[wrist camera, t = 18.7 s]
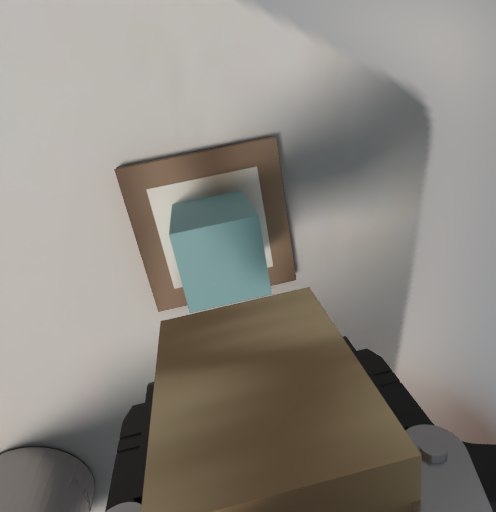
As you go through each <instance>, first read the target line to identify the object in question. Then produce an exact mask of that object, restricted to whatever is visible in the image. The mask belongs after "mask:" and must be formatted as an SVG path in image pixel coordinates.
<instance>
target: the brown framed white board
mask: <svg viewBox="0 0 496 512" xmlns="http://www.w3.org/2000/svg"><path fill="white" fill-rule="evenodd" d="M115 173H116V176H117V179H118V183H119V186H120V189H121V192H122V196H123V199H124V202H125V205H126V209H127V212H128V215H129V218H130V221H131V225H132V228H133V231H134V234H135V238H136V241H137V244H138V247H139V251H140V254H141V257H142V260H143V263H144V267H145V270H146V273H147V276H148V280H149V283H150V286H151V289H152V293H153V296H154V299H155V302H156V306H157V309H158V312H160V311H164V310H169V309H173V308H177V307H182V306H186V305H188V304H187V301H186V297H185V293H184V289H183V286H182V282H181V278H180V274H179V271H178V267H177V263H176V259H175V256H174V252H173V248H172V244H171V241H170V237H169V229H170V219H171V210H172V205H173V204H178V203H183V202H188V201H193V200H197V199H202V198H207V197H212V196H217V195H222V194H227V193H231V192H236V191H241V190H242V192H243V193H244V194H245V196H246V197H247V199H248V200H249V202H250V203H251V205H252V206H253V208H254V209H255V211H256V212H257V214H258V215H259V220H260V226H261V232H262V238H263V244H264V250H265V256H266V262H267V268H268V274H269V280H270V286H272V285H276V284H281V283H285V282H289V281H294V280H296V274H295V267H294V260H293V253H292V246H291V239H290V232H289V225H288V217H287V210H286V203H285V196H284V189H283V182H282V175H281V168H280V161H279V153H278V146H277V139H276V137H274V136H271V137H266V138H261V139H256V140H251V141H246V142H241V143H236V144H231V145H226V146H221V147H216V148H211V149H206V150H201V151H196V152H191V153H186V154H181V155H176V156H171V157H166V158H161V159H156V160H151V161H146V162H141V163H136V164H131V165H126V166H121V167H117V168H116V169H115Z"/></svg>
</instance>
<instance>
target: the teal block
mask: <svg viewBox="0 0 496 512" xmlns="http://www.w3.org/2000/svg"><path fill="white" fill-rule="evenodd" d="M169 237H170V241H171V244H172V248H173V252H174V256H175V259H176V263H177V267H178V271H179V274H180V278H181V282H182V286H183V289H184V293H185V297H186V301H187V304H188V308H189V312H190V313H193V312H197V311H202V310H206V309H210V308H215V307H219V306H223V305H228V304H232V303H236V302H241V301H245V300H249V299H254V298H258V297H262V296H267V295H271V294H272V292H271V286H270V280H269V274H268V268H267V262H266V256H265V250H264V244H263V238H262V232H261V226H260V220H259V215H258V214H257V212H256V211H255V209H254V208H253V206H252V205H251V203H250V202H249V200H248V199H247V197H246V196H245V194H244V193H243V192H242V190H241V191H236V192H231V193H227V194H222V195H217V196H212V197H207V198H202V199H197V200H193V201H188V202H183V203H178V204H173V205H172V210H171V219H170V229H169Z"/></svg>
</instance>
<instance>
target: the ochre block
mask: <svg viewBox="0 0 496 512" xmlns="http://www.w3.org/2000/svg"><path fill="white" fill-rule="evenodd" d="M421 462H422V455H421V453H420V452H419V450H418V449H417V448H416V446H415V445H414V443H413V442H412V440H411V439H410V437H409V436H408V434H407V433H406V431H405V430H404V428H403V427H402V425H401V424H400V422H399V421H398V419H397V418H396V416H395V415H394V413H393V412H392V410H391V409H390V407H389V406H388V404H387V403H386V401H385V400H384V398H383V397H382V395H381V394H380V392H379V391H378V389H377V388H376V386H375V385H374V383H373V382H372V380H371V379H370V377H369V376H368V374H367V373H366V371H365V370H364V368H363V367H362V365H361V364H360V362H359V361H358V359H357V358H356V356H355V355H354V354H353V352H352V351H351V349H350V348H349V346H348V345H347V343H346V342H345V340H344V339H343V337H342V336H341V334H340V333H339V331H338V330H337V328H336V327H335V325H334V324H333V322H332V321H331V319H330V318H329V316H328V315H327V313H326V312H325V310H324V309H323V307H322V306H321V304H320V303H319V301H318V300H317V298H316V297H315V295H314V294H313V292H312V291H311V289H310V288H309V287H308V288H303V289H299V290H295V291H290V292H286V293H282V294H277V295H273V296H269V297H264V298H260V299H256V300H251V301H247V302H243V303H238V304H234V305H230V306H225V307H221V308H217V309H212V310H208V311H204V312H199V313H195V314H191V315H186V316H182V317H177V318H173V319H169V320H164V321H161V325H160V335H159V344H158V354H157V363H156V373H155V382H154V392H153V401H152V411H151V420H150V430H149V439H148V449H147V458H146V468H145V477H144V487H143V496H142V506H141V512H412V502H414V501H418V500H421Z"/></svg>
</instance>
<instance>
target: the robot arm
mask: <svg viewBox="0 0 496 512" xmlns="http://www.w3.org/2000/svg"><path fill="white" fill-rule="evenodd" d="M343 339H344V340H345V342H346V343H347V345H348V346H349V348H350V349H351V351H352V352H353V354H354V355H355V356H356V358H357V359H358V361H359V362H360V364H361V365H362V367H363V368H364V370H365V371H366V373H367V374H368V376H369V377H370V379H371V380H372V382H373V383H374V385H375V386H376V388H377V389H378V391H379V392H380V394H381V395H382V397H383V398H384V400H385V401H386V403H387V404H388V406H389V407H390V409H391V410H392V412H393V413H394V415H395V416H396V418H397V419H398V421H399V422H400V424H401V425H402V427H403V428H404V430H405V431H406V433H407V434H408V436H409V437H410V439H411V440H412V442H413V443H414V445H415V446H416V448H417V449H418V450H419V452H420V453H421V455H422V462H421V500H418V501H414V502H412V512H496V445H489V444H487V445H486V444H471V443H466V442H463V441H461V440H460V439H459V438H458V437H457V436H455V435H454V434H453V433H451V432H449V431H448V430H446V429H443V428H441V427H438V426H435V425H434V424H433V423H432V422H431V421H430V419H429V418H428V417H427V415H426V414H425V413H424V412H423V410H422V409H421V408H420V406H419V405H418V404H417V402H416V401H415V400H414V399H413V397H412V396H411V395H410V393H409V392H408V391H407V389H406V388H405V387H404V386H403V384H402V383H400V381H399V379H398V378H397V376H396V375H395V374H394V373H392V370H391V369H390V367H389V366H388V365H387V364H386V362H385V361H384V360H383V358H382V357H380V356H378V355H377V354H375V353H374V352H372V351H370V350H369V349H364V350H359V351H356V350H355V349H354V347H353V346H352V344H351V343H350V341H349V340H348V338H347V337H345V336H343ZM153 392H154V382H152V383H149V384H148V386H147V393H146V401H145V403H142V404H138V405H134V406H132V408H131V409H130V411H129V412H128V414H127V416H126V417H125V419H124V420H123V423H122V428H121V433H120V441H119V444H118V449H117V455H116V459H115V465H114V470H113V475H112V480H111V485H110V491H109V496H108V501H107V506H106V510H105V512H141V506H142V496H143V487H144V477H145V468H146V458H147V449H148V439H149V430H150V420H151V411H152V401H153ZM93 495H94V480H93V477H92V474H91V472H90V471H89V469H88V468H87V467H86V466H85V465H84V464H83V463H82V462H81V461H80V460H78V459H77V458H75V457H73V456H72V455H70V454H67V453H65V452H62V451H59V450H55V449H50V448H42V447H28V448H19V449H15V450H11V451H8V452H5V453H3V454H1V455H0V512H90V511H91V504H92V499H93Z"/></svg>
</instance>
